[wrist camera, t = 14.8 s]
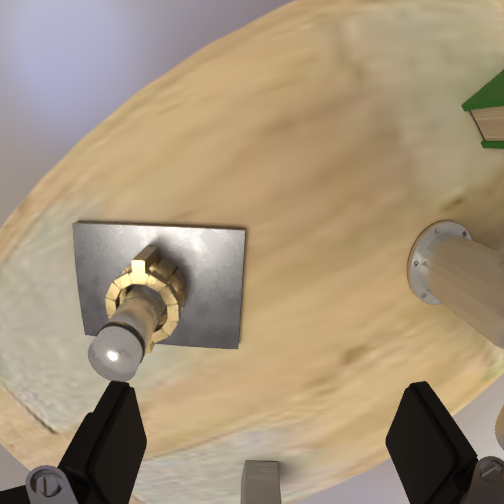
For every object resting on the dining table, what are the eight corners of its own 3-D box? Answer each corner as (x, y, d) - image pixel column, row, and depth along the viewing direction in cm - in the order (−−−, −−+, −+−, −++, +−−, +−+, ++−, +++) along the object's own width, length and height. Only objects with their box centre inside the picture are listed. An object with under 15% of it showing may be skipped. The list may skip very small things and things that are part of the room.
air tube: (171, 273, 38) (134, 341, 23) (172, 307, 39) (140, 386, 24) (136, 270, 38) (82, 334, 22) (138, 304, 39) (92, 378, 24)
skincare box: (271, 481, 53) (278, 543, 38) (236, 480, 52) (238, 543, 37) (279, 459, 51) (289, 527, 35) (241, 458, 50) (244, 527, 35)
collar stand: (244, 228, 39) (246, 243, 31) (238, 343, 43) (238, 376, 36) (77, 221, 37) (48, 233, 30) (89, 329, 42) (68, 356, 34)
